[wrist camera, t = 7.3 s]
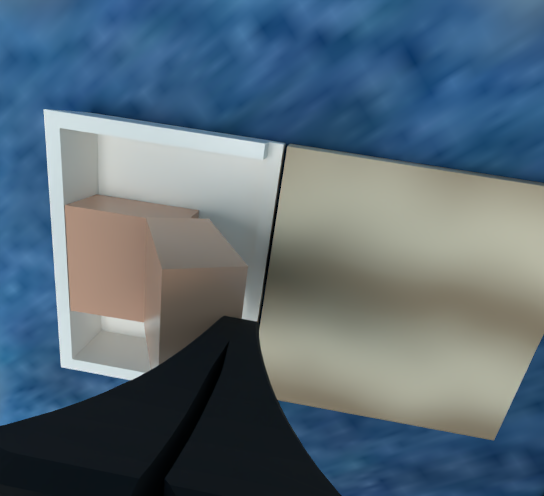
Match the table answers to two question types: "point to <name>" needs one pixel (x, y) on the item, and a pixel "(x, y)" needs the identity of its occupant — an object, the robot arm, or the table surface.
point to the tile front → (187, 283)
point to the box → (161, 190)
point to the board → (403, 290)
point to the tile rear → (111, 253)
